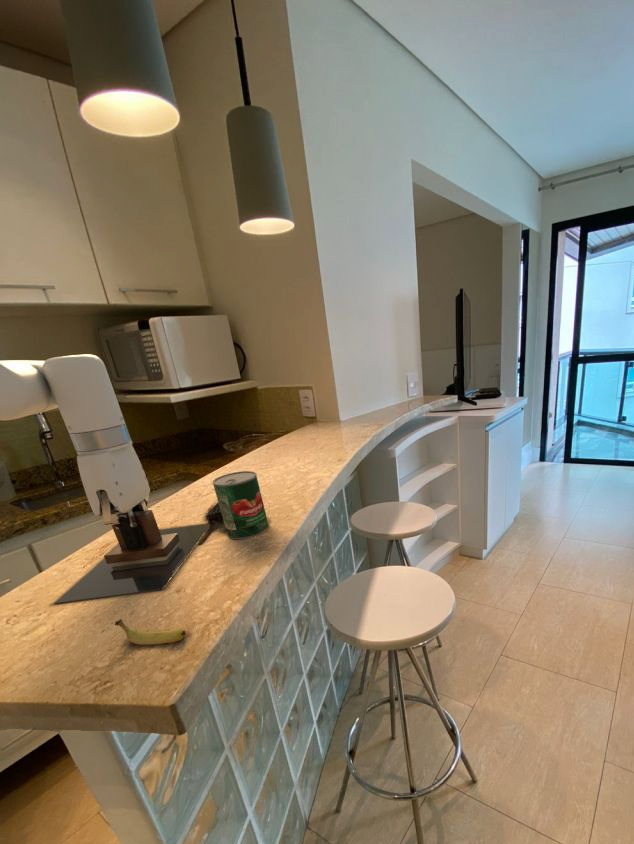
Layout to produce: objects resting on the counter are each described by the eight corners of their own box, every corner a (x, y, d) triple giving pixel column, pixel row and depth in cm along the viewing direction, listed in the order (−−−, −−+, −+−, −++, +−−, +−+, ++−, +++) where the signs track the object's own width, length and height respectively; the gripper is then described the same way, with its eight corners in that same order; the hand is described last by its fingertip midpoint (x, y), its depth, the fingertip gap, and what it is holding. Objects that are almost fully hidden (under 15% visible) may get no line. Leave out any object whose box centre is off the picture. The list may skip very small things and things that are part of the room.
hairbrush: (246, 475, 105) (241, 503, 82) (249, 489, 107) (245, 520, 84) (213, 482, 104) (198, 512, 81) (216, 495, 105) (203, 529, 82)
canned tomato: (240, 522, 84) (227, 471, 80) (275, 521, 82) (263, 469, 78) (219, 540, 77) (203, 485, 73) (257, 540, 75) (243, 484, 71)
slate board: (56, 608, 61) (53, 603, 60) (134, 537, 83) (132, 533, 82) (165, 594, 61) (163, 588, 61) (213, 527, 83) (212, 522, 83)
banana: (122, 651, 50) (110, 625, 48) (131, 642, 51) (119, 616, 50) (185, 648, 49) (175, 621, 47) (192, 638, 51) (183, 612, 49)
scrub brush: (108, 568, 69) (90, 525, 66) (126, 551, 74) (110, 511, 71) (168, 560, 69) (152, 517, 66) (181, 544, 75) (168, 504, 71)
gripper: (106, 432, 71) (142, 527, 78) (42, 456, 56) (93, 570, 63) (150, 426, 71) (181, 522, 78) (97, 449, 56) (142, 564, 63)
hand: (142, 543), depth 71 cm, fingers closed on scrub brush, 2 cm apart
